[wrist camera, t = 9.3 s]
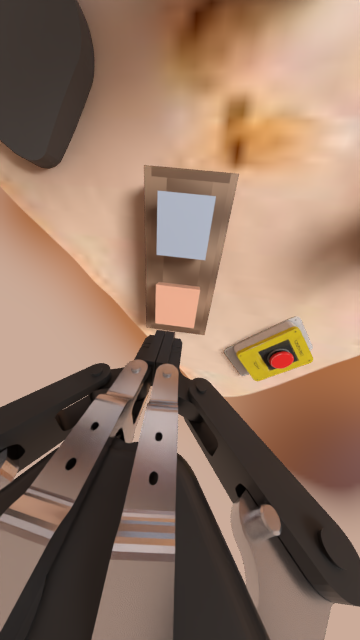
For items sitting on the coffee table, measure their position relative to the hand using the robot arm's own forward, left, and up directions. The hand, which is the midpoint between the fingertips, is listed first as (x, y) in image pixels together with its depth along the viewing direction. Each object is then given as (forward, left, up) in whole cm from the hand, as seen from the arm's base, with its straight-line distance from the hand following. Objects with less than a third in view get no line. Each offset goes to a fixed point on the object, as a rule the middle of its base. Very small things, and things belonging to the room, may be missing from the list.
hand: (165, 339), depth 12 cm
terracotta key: (0, 0, -12) cm, 12 cm away
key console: (-4, 0, -14) cm, 15 cm away
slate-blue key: (-9, 0, -12) cm, 15 cm away
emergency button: (+10, +19, -15) cm, 26 cm away
